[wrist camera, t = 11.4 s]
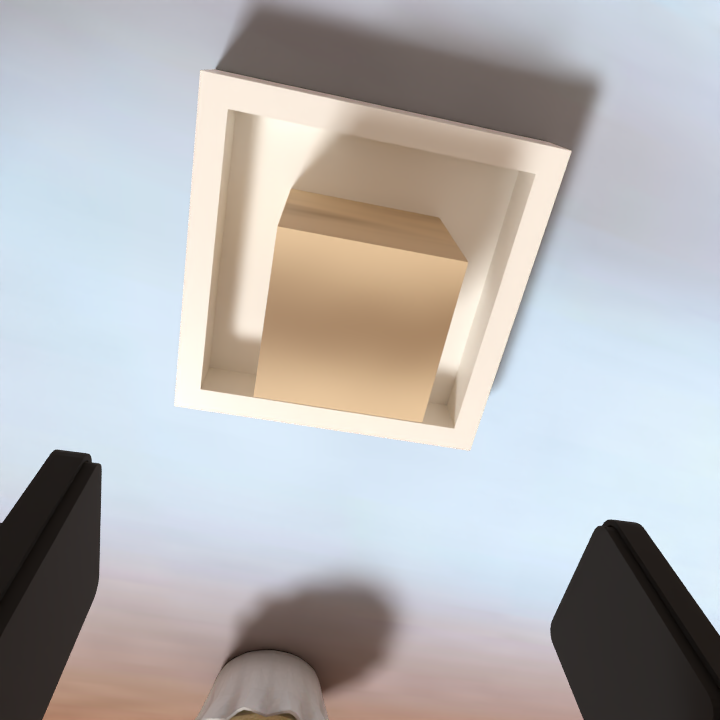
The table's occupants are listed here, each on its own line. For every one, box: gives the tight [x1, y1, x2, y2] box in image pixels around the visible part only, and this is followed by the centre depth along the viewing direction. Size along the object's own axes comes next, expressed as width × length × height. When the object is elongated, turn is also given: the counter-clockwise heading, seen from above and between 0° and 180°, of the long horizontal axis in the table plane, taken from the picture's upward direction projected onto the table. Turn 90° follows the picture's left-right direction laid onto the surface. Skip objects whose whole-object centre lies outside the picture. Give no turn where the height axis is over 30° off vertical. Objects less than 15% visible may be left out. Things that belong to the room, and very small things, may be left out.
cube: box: [253, 189, 468, 423], centre depth 22 cm, size 6×6×6 cm
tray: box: [174, 69, 572, 451], centre depth 25 cm, size 13×13×3 cm
